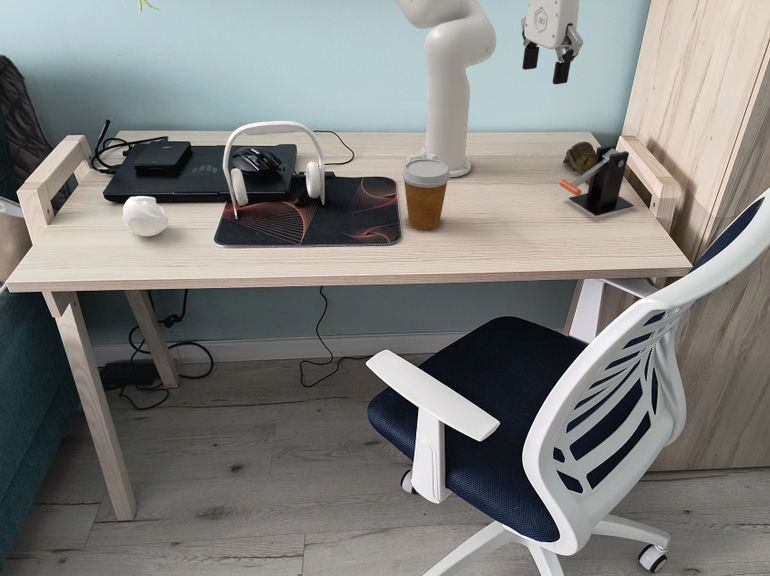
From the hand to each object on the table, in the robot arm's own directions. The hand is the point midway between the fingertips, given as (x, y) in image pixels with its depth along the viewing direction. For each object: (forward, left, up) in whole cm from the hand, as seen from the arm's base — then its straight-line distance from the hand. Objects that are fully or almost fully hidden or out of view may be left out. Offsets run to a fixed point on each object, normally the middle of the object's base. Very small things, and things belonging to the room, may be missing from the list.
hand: (544, 75), depth 125 cm
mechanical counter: (+19, +3, -26) cm, 33 cm away
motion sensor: (-76, +19, -26) cm, 83 cm away
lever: (+9, -10, -18) cm, 23 cm away
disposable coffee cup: (-26, 0, -26) cm, 37 cm away
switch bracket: (+13, -10, -26) cm, 31 cm away
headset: (-50, +19, -26) cm, 60 cm away
